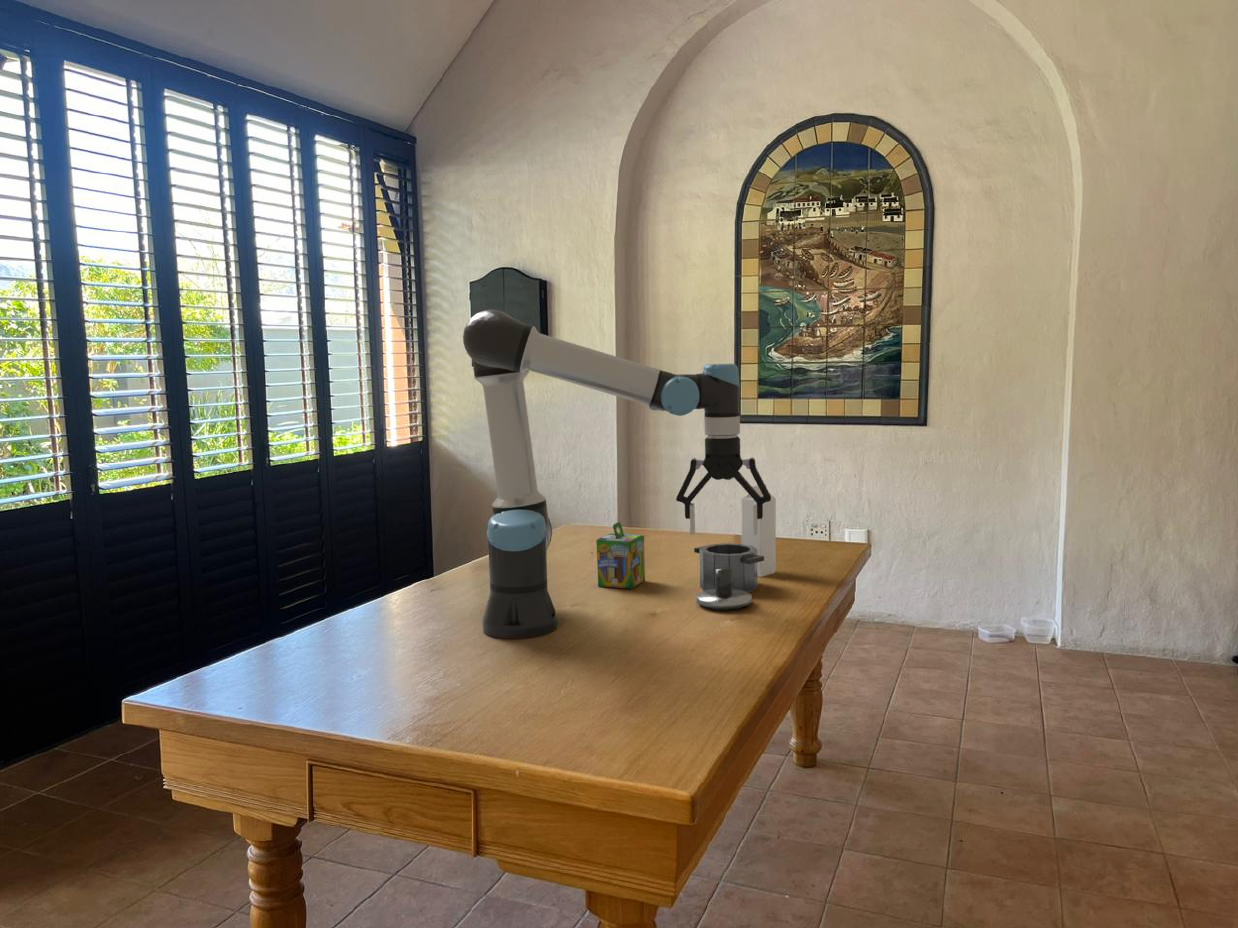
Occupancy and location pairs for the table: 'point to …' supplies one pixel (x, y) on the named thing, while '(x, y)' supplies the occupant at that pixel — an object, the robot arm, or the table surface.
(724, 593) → the lid
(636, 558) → the chalk box
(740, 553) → the pot
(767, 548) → the milk
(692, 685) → the table surface
